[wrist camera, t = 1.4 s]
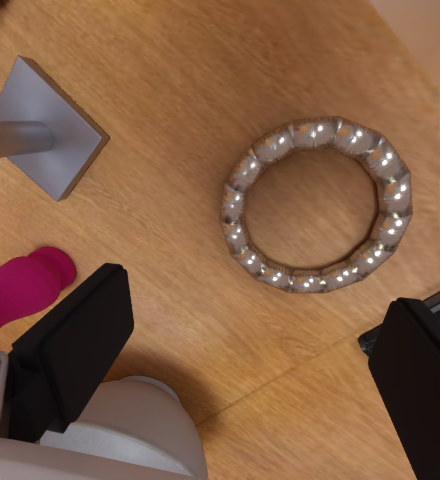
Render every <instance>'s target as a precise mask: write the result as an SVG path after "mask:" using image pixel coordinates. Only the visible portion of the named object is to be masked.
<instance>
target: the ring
mask: <svg viewBox="0 0 440 480" xmlns="http://www.w3.org/2000/svg"><path fill="white" fill-rule="evenodd" d="M328 148H329V149H332V150H334V151H337V152H339V153H342V154H344V155H347V156H349V157H352V158H354V159H357V160H359V161H360V163H361V164H362V165H363V167H364V168H365V169H366V170H367V172H368V173H369V174H370V176H371V177H372V178H373V180H374V181H375V182H376V184H377V191H378V200H379V210H380V213H379V215H378V218H377V220H376V223H375V225H374V227H373V230H372V232H371V235H370V237H369V239H368V240H367V241H366V242H365V243H364V244H363V245H362V246H361V247H360V248H359V249H358V250H356V251H355V252H354V253H353V254H352V255H351V256H350V257H349V258H348V259H347V260H344V261H342V262H339V263H337V264H334V265H332V266H329V267H326V268H324V269H321V270H290V269H287V268H285V267H282V266H280V265H277V264H275V263H272V262H270V261H268V260H267V259H266V258H265V257H264V256H263V255H262V254H261V253H260V252H259V251H258V250H257V249H256V248H255V247H254V246H253V245H252V244H251V242H250V239H249V236H248V233H247V229H246V226H245V223H244V220H243V219H244V213H245V207H246V202H247V196H248V192H249V191H250V189H251V188H252V187H253V185H254V184H255V182H256V181H257V180H258V178H259V177H260V175H261V174H262V173H263V171H264V170H265V169H266V168H267V167H269V166H270V165H272V164H274V163H276V162H277V161H279V160H281V159H283V158H284V157H286V156H288V155H290V154H291V153H293V152H295V151H305V150H316V149H328ZM412 215H413V205H412V186H411V173H410V170H409V168H408V167H407V165H406V164H405V163H404V161H403V160H402V159H401V157H400V156H399V154H398V153H397V152H396V150H395V149H394V147H393V146H392V145H391V143H390V142H389V140H388V139H387V138H386V136H385V135H383V134H382V133H380V132H377V131H375V130H372V129H370V128H368V127H365V126H363V125H360V124H358V123H355V122H353V121H350V120H348V119H345V118H343V117H340V116H332V117H322V118H313V119H304V120H295V121H289V122H287V123H285V124H283V125H282V126H280V127H278V128H277V129H275V130H273V131H272V132H270V133H269V134H267V135H265V136H264V137H262V138H261V139H259V140H257V141H256V142H254V143H252V144H251V145H249V146H248V147H247V148H246V150H245V151H244V153H243V154H242V156H241V157H240V159H239V160H238V162H237V163H236V165H235V166H234V168H233V169H232V171H231V172H230V174H229V176H228V177H227V179H226V180H225V182H224V185H223V191H222V199H221V207H220V215H219V224H220V227H221V230H222V233H223V236H224V238H225V241H226V244H227V247H228V250H229V253H230V255H231V256H232V257H233V258H234V259H235V260H236V261H237V262H238V263H239V264H240V265H241V266H242V267H243V268H244V269H245V270H246V271H247V272H248V273H249V274H250V275H251V276H252V277H253V278H254V279H255V280H257V281H259V282H261V283H264V284H266V285H269V286H271V287H274V288H276V289H279V290H281V291H284V292H287V293H318V294H324V293H329V292H332V291H334V290H337V289H340V288H343V287H346V286H348V285H351V284H354V283H357V282H360V281H362V280H364V279H365V278H366V277H367V276H369V275H370V274H371V273H372V272H373V271H374V270H376V269H377V268H378V267H379V266H380V265H382V264H383V263H384V262H385V261H386V260H387V259H389V258H390V257H391V256H392V255H393V254H394V253H395V251H396V249H397V247H398V245H399V243H400V241H401V239H402V237H403V235H404V233H405V231H406V228H407V226H408V224H409V222H410V220H411V218H412Z"/></svg>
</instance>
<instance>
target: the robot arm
mask: <svg viewBox="0 0 440 480" xmlns="http://www.w3.org/2000/svg"><path fill="white" fill-rule="evenodd" d="M133 329H134V319H133V312H132V304H131V297H130V289H129V282H128V274H127V270H126V269H123V266H122V265H120V264H111V263H105V264H103V265H102V266H101V267H100V268H99V269H97V270H96V271H95V272H94V273H93V274H92V275H91V276H89V277H88V278H87V279H86V280H85V281H84V282H83V283H81V284H80V285H79V286H78V287H77V288H76V289H75V290H73V291H72V292H71V293H70V294H69V295H68V296H67V297H65V298H64V299H63V300H62V301H61V302H60V303H59V304H57V305H56V306H55V307H54V308H53V309H52V310H51V311H49V312H48V313H47V314H46V315H45V316H44V317H43V318H41V319H40V320H39V321H38V322H37V323H36V324H35V325H33V326H32V327H31V328H30V329H29V330H28V331H27V332H25V333H24V334H23V335H22V336H21V337H20V338H19V339H17V340H16V341H15V342H14V343H13V344H12V347H13V350H12V351H11V352H10V353H8V354H6V353H5V352H3V351H0V480H207V479H202V478H197V477H193V476H188V475H184V474H179V473H174V472H170V471H165V470H160V469H156V468H151V467H146V466H141V465H137V464H132V463H127V462H123V461H118V460H113V459H108V458H104V457H99V456H94V455H90V454H85V453H80V452H75V451H71V450H65V449H60V448H55V447H49V446H44V445H40V439H41V437H42V436H43V435H44V433H45V432H46V430H47V431H51V432H56V433H61V434H64V433H65V431H66V430H67V428H68V426H69V425H70V423H74V422H75V421H76V420H77V419H78V418H79V417H80V415H81V413H82V412H83V410H84V409H85V407H86V405H87V404H88V402H89V401H90V399H91V398H92V396H93V394H94V393H95V391H96V390H97V388H98V386H99V385H100V383H101V382H102V380H103V378H104V377H105V375H106V374H107V372H108V371H109V369H110V367H111V366H112V364H113V363H114V361H115V359H116V358H117V356H118V355H119V353H120V351H121V350H122V348H123V347H124V345H125V343H126V342H127V340H128V339H129V337H130V336H131V334H132V332H133ZM368 365H369V369H370V372H371V374H372V377H373V379H374V381H375V383H376V386H377V388H378V390H379V393H380V395H381V397H382V400H383V402H384V404H385V407H386V409H387V411H388V413H389V416H390V418H391V420H392V423H393V425H394V427H395V430H396V432H397V434H398V436H399V439H400V441H401V443H402V446H403V448H404V450H405V453H406V455H407V457H408V460H409V462H410V464H411V466H412V469H413V471H414V473H415V476H416V478H417V480H440V320H439V319H438V318H437V317H436V315H435V314H434V313H433V312H432V311H431V310H430V309H429V308H428V307H427V306H426V304H425V303H424V302H423V301H421V300H419V299H411V298H402V297H400V298H398V299H397V300H396V301H392V302H391V303H390V305H389V308H388V311H387V313H386V316H385V318H384V321H383V323H382V326H381V328H380V331H379V333H378V336H377V338H376V341H375V343H374V346H373V348H372V351H371V354H370V356H369V359H368Z"/></svg>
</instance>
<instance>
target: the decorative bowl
mask: <svg viewBox="0 0 440 480" xmlns="http://www.w3.org/2000/svg"><path fill="white" fill-rule="evenodd" d="M40 445H44V446H49V447H55V448H60V449H65V450H71V451H75V452H80V453H85V454H90V455H94V456H99V457H104V458H108V459H113V460H118V461H123V462H127V463H132V464H137V465H141V466H146V467H151V468H156V469H160V470H165V471H170V472H174V473H179V474H184V475H188V476H193V477H197V478H202V479H207V480H208V472H207V465H206V460H205V455H204V451H203V447H202V443H201V440H200V437H199V435H198V432H197V430H196V427H195V425H194V423H193V421H192V420H191V418H190V416H189V415H188V413H187V412H186V410H185V409H184V408H183V407H182V405H181V403H180V400H179V398H178V396H177V395H176V393H175V392H174V391H173V390H172V389H171V388H170V387H168V386H167V385H165V384H164V383H162V382H160V381H158V380H156V379H153V378H150V377H146V376H128V377H125V378H122V379H121V380H115V381H109V382H104V383H101V384H100V385H99V386H98V388H97V390H96V391H95V393H94V394H93V396H92V398H91V399H90V401H89V402H88V404H87V405H86V407H85V409H84V410H83V412H82V413H81V415H80V417H79V418H78V419H77V420H76V421H75V422H74V423H70V425H69V426H68V428H67V430H66V431H65V433H64V434H61V433H56V432H51V431H47V430H46V432H45V433H44V435H43V436H42V437H41V439H40Z"/></svg>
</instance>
